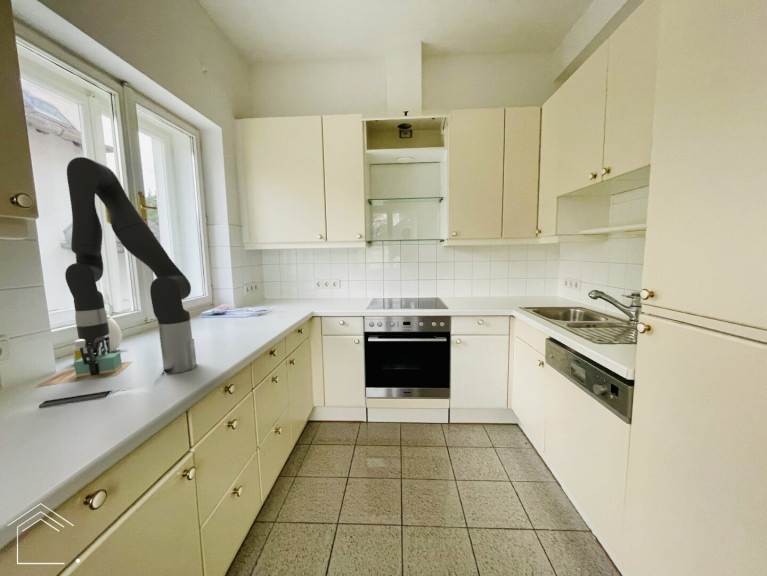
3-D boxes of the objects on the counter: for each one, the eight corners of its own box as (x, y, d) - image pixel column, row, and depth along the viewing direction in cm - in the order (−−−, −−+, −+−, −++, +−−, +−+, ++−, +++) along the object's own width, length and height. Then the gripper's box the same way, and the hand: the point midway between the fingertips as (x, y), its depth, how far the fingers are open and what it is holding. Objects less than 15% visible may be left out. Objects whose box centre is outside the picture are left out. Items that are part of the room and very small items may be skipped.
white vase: (108, 349, 131) (102, 308, 129) (128, 348, 132) (122, 307, 130) (93, 355, 123) (87, 312, 121) (114, 354, 124) (108, 311, 122)
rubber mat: (119, 383, 96) (119, 381, 95) (105, 397, 86) (104, 394, 86) (61, 392, 90) (60, 389, 90) (39, 408, 81) (38, 405, 81)
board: (133, 365, 111) (133, 361, 111) (117, 379, 98) (116, 375, 98) (61, 374, 104) (61, 370, 104) (34, 392, 91) (33, 387, 91)
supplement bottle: (98, 363, 114) (94, 338, 112) (79, 369, 109) (75, 342, 107) (91, 361, 116) (87, 337, 115) (72, 367, 111) (68, 341, 110)
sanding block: (121, 366, 107) (120, 352, 106) (115, 371, 101) (113, 357, 101) (85, 370, 103) (83, 356, 102) (76, 376, 98) (74, 362, 97)
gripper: (96, 326, 95) (103, 377, 97) (115, 317, 108) (122, 362, 110) (64, 329, 92) (73, 381, 94) (88, 319, 105) (96, 365, 107)
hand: (99, 371), depth 102 cm, fingers closed on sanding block, 5 cm apart
